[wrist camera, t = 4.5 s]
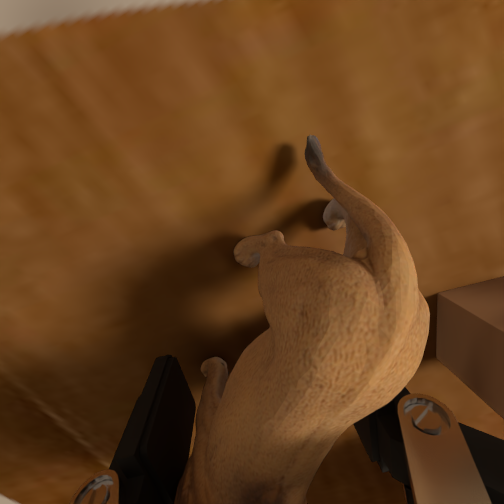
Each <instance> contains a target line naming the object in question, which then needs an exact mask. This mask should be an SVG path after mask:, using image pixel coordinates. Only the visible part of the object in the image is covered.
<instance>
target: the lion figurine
mask: <svg viewBox="0 0 504 504" xmlns="http://www.w3.org/2000/svg"><path fill="white" fill-rule="evenodd" d="M305 159H306V161H307V165H308V167H309V168H310V170H311V172H312V173H313V175H314V176H315V179H316V180H317V181H318V182H319V183H320V184H321V185H322V186H323V187H324V188H325V189H326V190H327V191H328V192H329V193H330V194H331V195H332V196H333V197H334V199H333V200H331V202H330V203H329V204H328V205H327V207H326V208H325V211H324V214H323V220H324V222H325V223H326V225H327V226H328V228H329V229H331V230H337V229H339V228H344V227H345V226H346V233H347V236H346V243H345V249H344V254H343V255H341V254H339V253H336V252H333V251H328V250H323V249H317V248H310V247H297V246H288V245H287V244H286V243H285V241H284V236H283V234H282V233H281V232H279V231H277V230H274V231H270V232H268V233H265V234H262V235H254V236H249V237H246V238H244V239H243V240H241V241H240V242H239V243H238V244H237V245H236V246H235V248H234V252H233V253H234V256H235V260H236V261H237V262H238V263H240V264H241V265H243V266H247V267H250V268H251V267H255V266H256V265H257V264H258V263H259V272H258V289H259V293H260V295H261V297H262V299H263V303H264V311H265V315H266V318H267V320H268V322H269V325H270V327H269V329H268V330H266V331H265V332H263V333H262V334H261V335H260V336H258V337H257V338H256V339H255V340H254V341H253V342H252V343H251V344H249V345H248V346H247V347H246V349H245V350H244V351H243V353H242V354H241V356H240V358H239V359H238V361H237V363H236V365H235V366H234V368H233V370H232V372H231V374H230V376H229V371H228V369H227V364H226V362H225V361H224V360H223V359H221V358H219V357H213V358H209V359H207V360H205V361H204V362H203V363H202V366H201V372H202V373H203V375H204V376H205V377H206V378H207V380H206V382H205V385H204V388H203V391H202V396H201V400H200V404H199V407H198V410H197V414H196V437H195V442H194V447H193V451H192V455H191V457H190V458H189V459H188V461H187V464H186V466H185V470H184V473H183V475H182V477H181V479H180V481H179V484H178V487H177V491H176V496H175V501H174V504H307V501H306V493H307V490H308V488H309V485H310V483H311V481H312V479H313V477H314V475H315V473H316V472H317V470H318V468H319V466H320V464H321V463H322V461H323V459H324V458H325V457H326V455H327V454H328V452H329V451H330V449H331V448H332V446H333V444H334V442H335V441H336V440H337V438H338V437H339V436H340V435H341V434H342V433H343V432H344V431H345V430H346V429H347V428H348V427H349V426H350V425H352V424H354V423H355V422H357V421H359V420H360V419H362V418H364V417H366V416H367V415H369V414H371V413H372V412H374V411H376V410H377V409H379V408H381V407H382V406H384V405H386V404H388V403H389V402H390V401H391V400H392V399H393V398H394V397H395V396H396V395H397V394H399V393H400V392H401V391H402V389H403V388H404V387H405V386H406V384H407V383H408V382H409V380H410V379H411V378H412V377H413V375H414V374H415V372H416V370H417V369H418V367H419V365H420V363H421V360H422V357H423V354H424V350H425V346H426V342H427V338H428V334H429V322H430V312H429V307H428V304H427V302H426V300H425V299H424V297H423V295H422V294H421V292H420V291H419V290H418V282H417V274H416V269H415V265H414V261H413V259H412V256H411V254H410V251H409V249H408V246H407V244H406V242H405V240H404V239H403V237H402V235H401V234H400V232H399V231H398V229H397V228H396V226H395V225H394V223H393V222H392V221H391V219H390V218H389V217H388V216H387V215H386V214H385V213H384V212H383V211H382V210H381V209H380V208H379V207H378V206H376V205H375V204H374V203H373V202H372V201H370V200H369V199H368V198H366V197H365V196H363V195H362V194H360V193H359V192H357V191H356V190H355V189H353V188H352V187H350V186H349V185H347V184H345V183H344V182H343V181H341V180H340V179H339V178H338V177H337V176H336V175H335V174H334V173H333V172H332V170H331V169H330V168H329V167H328V166H327V165H326V162H325V160H324V156H323V153H322V151H321V145H320V143H319V140H318V139H317V137H316V136H313V135H309V136H308V137H307V146H306V149H305ZM228 376H229V378H228ZM227 378H228V381H227ZM226 381H227V383H226ZM225 385H226V386H225Z"/></svg>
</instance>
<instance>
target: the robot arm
mask: <svg viewBox="0 0 504 504" xmlns="http://www.w3.org/2000/svg"><path fill="white" fill-rule="evenodd" d="M195 410H196V407H195V401H194V399H193V396H192V394H191V391H190V389H189V387H188V384H187V382H186V379H185V377H184V375H183V372H182V370H181V367H180V365H179V363H178V360H177V358H176V357H172V356H171V355H166V356H161V357H158V358H156V360H155V362H154V364H153V367H152V369H151V372H150V374H149V377H148V379H147V382H146V384H145V387H144V389H143V392H142V394H141V396H140V397H139V398H138V400H137V402H136V404H135V406H134V409H133V411H132V414H131V416H130V419H129V421H128V424H127V426H126V428H125V431H124V433H123V436H122V438H121V441H120V443H119V445H118V448H117V450H116V453H115V455H114V458H113V460H112V463H111V465H110V467H109V469H107V470H102V471H100V472H98V473H96V474H94V475H93V476H91V477H90V478H89V479H87V480H86V481H85V482H84V483H83V484H82V485H81V486H80V487H79V489H78V490H77V491H76V493H75V494H74V495H73V497H72V499H71V500H70V502H69V504H174V501H175V496H176V491H177V487H178V484H179V481H180V479H181V477H182V475H183V473H184V470H185V466H186V464H187V461H188V457H189V451H190V444H191V437H192V431H193V424H194V417H195ZM354 427H355V429H356V431H357V433H358V435H359V437H360V439H361V441H362V443H363V445H364V447H365V450H366V452H367V454H368V456H369V458H370V460H371V461H372V462H375V461H377V462H378V464H379V466H380V468H381V470H382V472H387V471H390V473H391V475H392V477H393V478H395V479H397V480H398V481H400V482H402V486H403V491H404V497H405V502H406V504H504V440H502V439H499V438H497V437H494V436H492V435H489V434H487V433H484V432H482V431H479V430H476V429H474V428H471V427H469V426H466V425H464V424H461V423H459V422H457V419H456V418H455V416H454V414H453V413H452V411H451V410H450V409H449V408H448V407H447V406H446V405H445V404H443V403H442V402H440V401H439V400H437V399H435V398H433V397H431V396H428V395H424V394H410V393H409V391H408V390H407V389H406V388H405V387H404V388H403V389H402V391H401V392H400V393H399V394H397V395H396V396H395V397H394V398H393V399H392V400H391V401H390V402H389V403H388V404H386V405H384V406H382V407H381V408H379V409H377V410H376V411H374V412H372V413H371V414H369V415H367V416H366V417H364V418H362V419H360V420H359V421H357V422H355V423H354Z"/></svg>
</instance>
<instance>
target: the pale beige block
mask: <svg viewBox="0 0 504 504" xmlns="http://www.w3.org/2000/svg"><path fill="white" fill-rule="evenodd" d="M436 358H437V359H438V360H439V361H440V362H442V363H443V364H444V365H445V366H446V367H447V368H448V369H449V370H450V371H451V372H452V373H454V374H455V375H456V376H457V377H458V378H459V379H460V380H461V381H462V382H463V383H465V384H466V385H467V386H468V387H469V388H470V389H471V390H472V391H473V392H474V393H476V394H477V395H478V396H479V397H480V398H481V399H482V400H483V401H484V402H485V403H487V404H488V405H489V406H490V407H491V408H492V409H493V410H494V411H495V412H496V413H498V414H499V415H500V416H501V417H502V418H503V419H504V277H500V278H496V279H492V280H488V281H484V282H480V283H476V284H472V285H468V286H464V287H460V288H456V289H452V290H448V291H444V292H440V293H438V302H437V340H436Z"/></svg>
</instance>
